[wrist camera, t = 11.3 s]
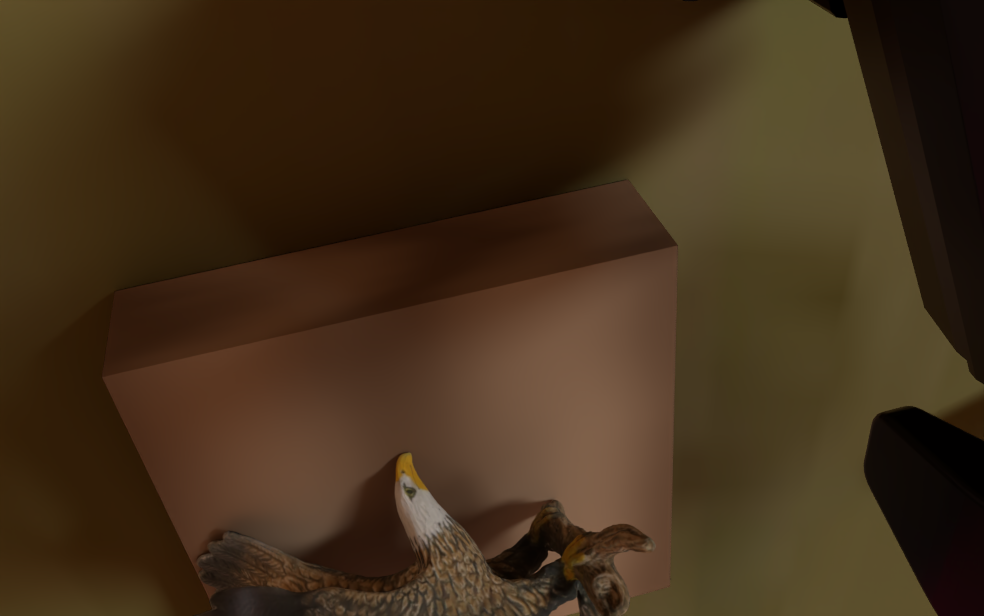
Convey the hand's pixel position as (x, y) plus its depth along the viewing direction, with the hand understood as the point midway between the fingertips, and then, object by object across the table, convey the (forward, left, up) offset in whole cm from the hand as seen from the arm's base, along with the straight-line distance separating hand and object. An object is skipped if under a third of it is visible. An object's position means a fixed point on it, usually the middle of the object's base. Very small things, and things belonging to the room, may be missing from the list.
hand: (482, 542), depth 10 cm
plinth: (0, +10, -12) cm, 15 cm away
